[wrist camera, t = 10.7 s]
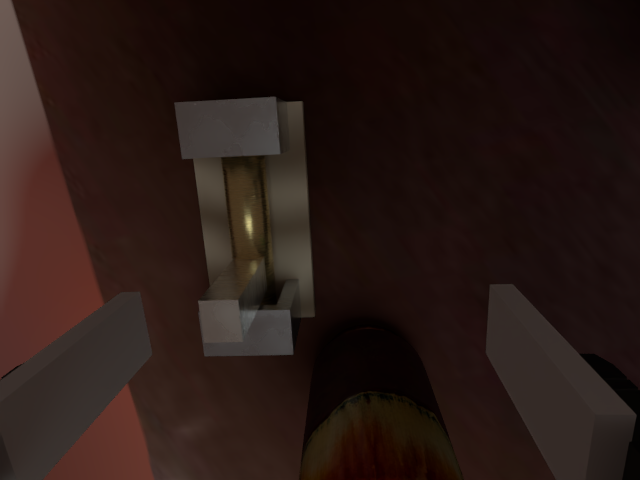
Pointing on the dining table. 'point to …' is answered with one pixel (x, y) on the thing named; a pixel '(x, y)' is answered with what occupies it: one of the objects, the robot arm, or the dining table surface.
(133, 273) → the dining table surface
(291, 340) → the socket
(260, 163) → the slide bolt
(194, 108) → the sleeve
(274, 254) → the plank
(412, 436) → the vase
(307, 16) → the dining table surface
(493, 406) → the dining table surface
